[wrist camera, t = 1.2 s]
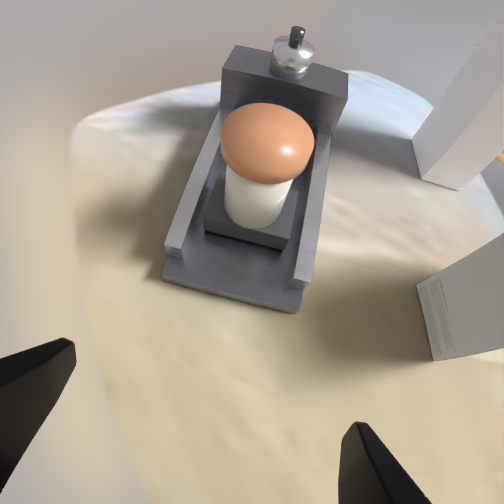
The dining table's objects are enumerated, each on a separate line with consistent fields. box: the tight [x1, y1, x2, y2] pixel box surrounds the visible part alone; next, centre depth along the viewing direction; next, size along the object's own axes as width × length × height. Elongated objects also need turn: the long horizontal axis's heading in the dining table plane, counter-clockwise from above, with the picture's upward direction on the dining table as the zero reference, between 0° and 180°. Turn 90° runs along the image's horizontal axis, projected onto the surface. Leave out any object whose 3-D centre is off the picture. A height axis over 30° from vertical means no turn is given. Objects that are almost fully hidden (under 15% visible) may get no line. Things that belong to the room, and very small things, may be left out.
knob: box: [203, 103, 314, 250], centre depth 20 cm, size 5×6×9 cm
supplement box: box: [416, 233, 504, 361], centre depth 19 cm, size 7×7×13 cm
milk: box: [412, 20, 504, 191], centre depth 21 cm, size 6×6×22 cm
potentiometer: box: [270, 26, 315, 80], centre depth 21 cm, size 3×3×4 cm
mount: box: [161, 45, 348, 314], centre depth 24 cm, size 20×10×8 cm, turn 167°
